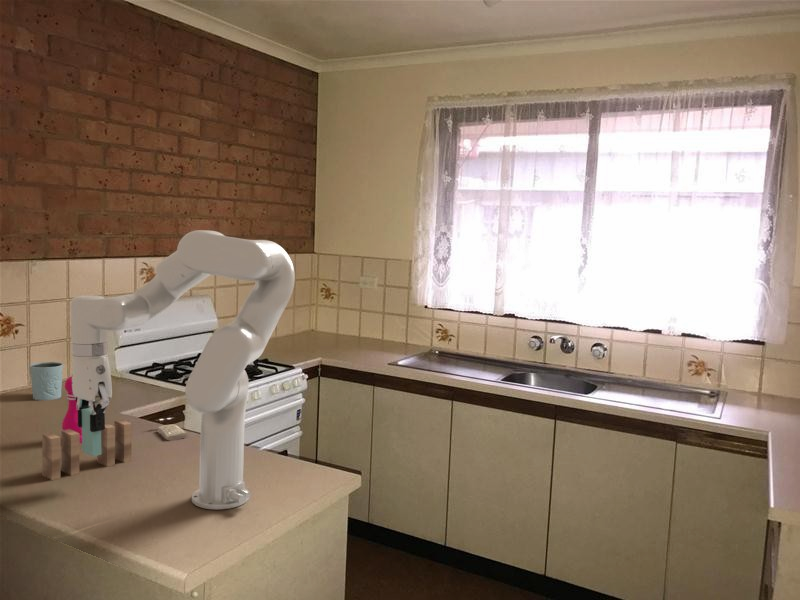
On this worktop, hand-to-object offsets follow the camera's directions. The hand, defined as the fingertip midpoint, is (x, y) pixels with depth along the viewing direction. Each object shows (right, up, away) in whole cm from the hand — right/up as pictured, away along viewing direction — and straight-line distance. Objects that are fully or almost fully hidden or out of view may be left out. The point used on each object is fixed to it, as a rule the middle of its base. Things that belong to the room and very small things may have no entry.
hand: (91, 427), depth 154 cm
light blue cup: (-51, -5, +76) cm, 92 cm away
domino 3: (0, -6, 0) cm, 6 cm away
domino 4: (-4, -12, +17) cm, 22 cm away
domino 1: (-13, -13, +6) cm, 19 cm away
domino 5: (-1, -12, +20) cm, 24 cm away
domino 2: (-10, -13, +10) cm, 19 cm away
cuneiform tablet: (0, -8, +47) cm, 48 cm away
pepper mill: (-20, -10, +34) cm, 41 cm away
